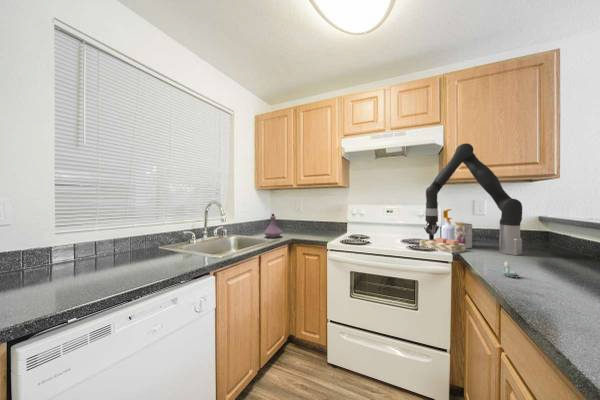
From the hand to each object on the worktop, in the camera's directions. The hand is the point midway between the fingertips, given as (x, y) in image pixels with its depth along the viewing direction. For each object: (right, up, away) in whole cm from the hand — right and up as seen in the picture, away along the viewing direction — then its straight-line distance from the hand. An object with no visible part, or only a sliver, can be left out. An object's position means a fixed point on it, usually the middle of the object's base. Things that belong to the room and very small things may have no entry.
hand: (431, 239), depth 157 cm
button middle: (+3, -1, -6) cm, 7 cm away
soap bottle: (+26, -4, +21) cm, 34 cm away
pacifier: (0, -6, -59) cm, 60 cm away
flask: (-115, -5, +37) cm, 121 cm away
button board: (+3, -5, -6) cm, 8 cm away
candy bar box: (+21, -5, -2) cm, 21 cm away
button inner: (+6, -1, -13) cm, 14 cm away
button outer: (0, -3, 0) cm, 3 cm away
